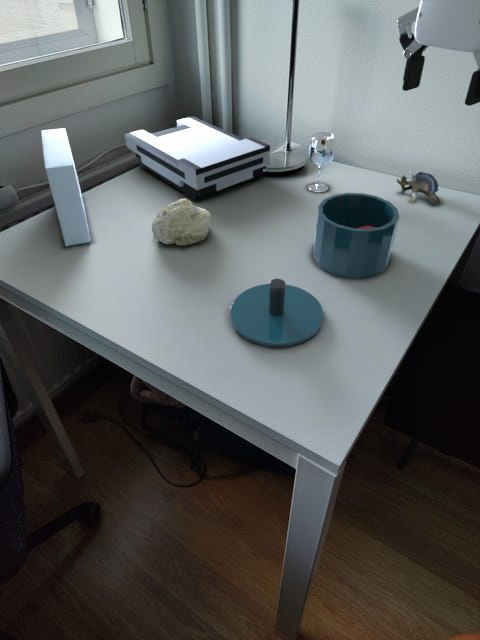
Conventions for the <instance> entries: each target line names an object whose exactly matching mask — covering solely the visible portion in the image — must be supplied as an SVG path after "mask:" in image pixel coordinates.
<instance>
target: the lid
mask: <svg viewBox="0 0 480 640" xmlns="http://www.w3.org/2000/svg"><path fill="white" fill-rule="evenodd" d="M323 311H324V310H323V308H322V304H321V303H320V302H319V300H318V299H317V298H316V297H315V296H314V295H313V294H311V293H310V292H309V291H307V290H305V289H302V288H300V287H297V286H295V285H291V284H287V283H286V281H285V280H284V279H281V278H273V279H270V281H269V283H264V284H259V285H255V286H252V287H250V288H247V289H245V290H244V291H242V292H241V293H239V294H238V295H237V296H236V297H235V299H234V300H233V301H232V303H231V305H230V310H229V317H230V321H231V324H232V326H233V328H234V329H235V330H236V332H238V333H239V334H240V335H241V336H242V337H243V338H245V339H247V340H249V341H251V342H254V343H256V344H259V345H262V346H263V345H264V346H269V347H287V346H293V345H298V344H300V343H303V342H305V341H307V340H309V339H311V338H312V337H313V336H314V335H315V334H316V333H318V331H319V330H320V328H321V326H322V324H323V319H324V312H323Z"/></svg>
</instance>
